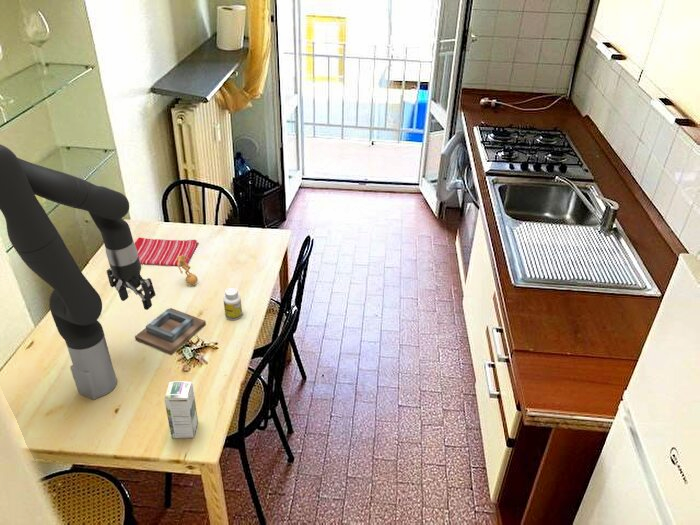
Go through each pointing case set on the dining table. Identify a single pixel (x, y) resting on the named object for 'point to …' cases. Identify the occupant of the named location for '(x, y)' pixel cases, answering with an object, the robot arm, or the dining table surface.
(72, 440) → the dining table surface
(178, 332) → the cradle board
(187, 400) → the syrup box
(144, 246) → the dish towel
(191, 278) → the figurine
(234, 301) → the supplement bottle
